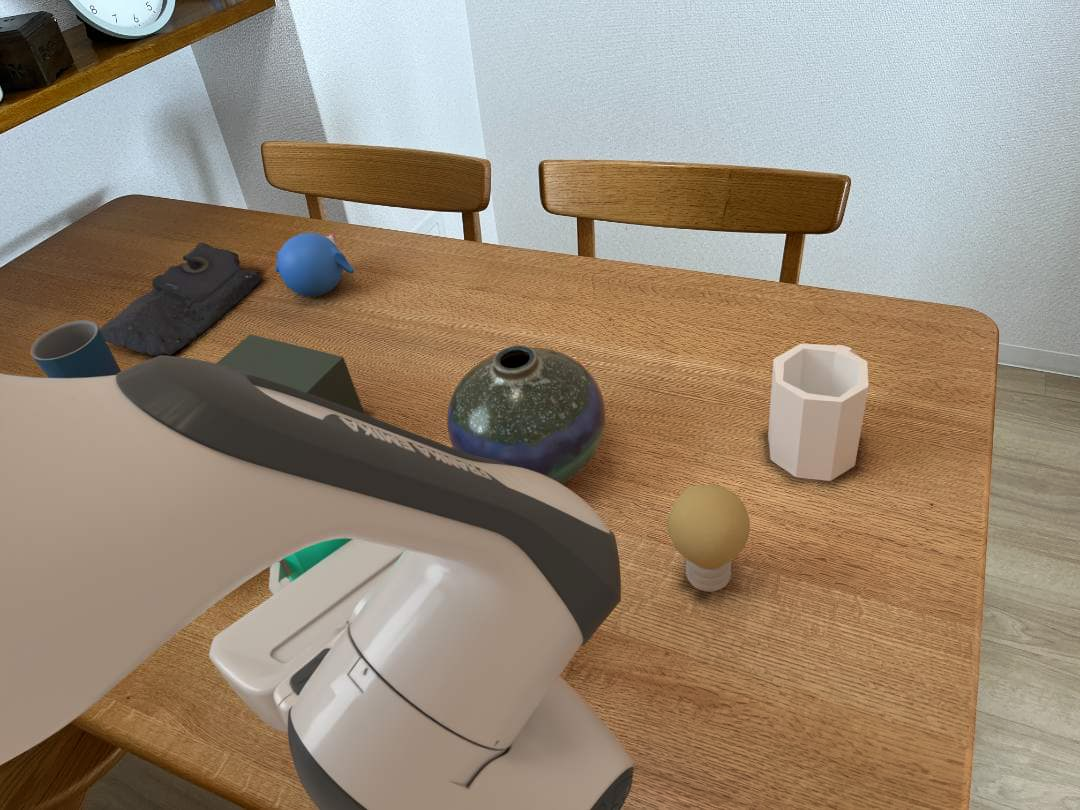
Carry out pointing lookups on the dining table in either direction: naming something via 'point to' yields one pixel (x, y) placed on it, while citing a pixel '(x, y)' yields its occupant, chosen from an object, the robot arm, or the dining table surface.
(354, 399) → the cabinet
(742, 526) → the light bulb
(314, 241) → the blue mole toy
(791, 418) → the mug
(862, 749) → the dining table surface
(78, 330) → the cup
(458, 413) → the vase
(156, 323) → the dark slate chunk
